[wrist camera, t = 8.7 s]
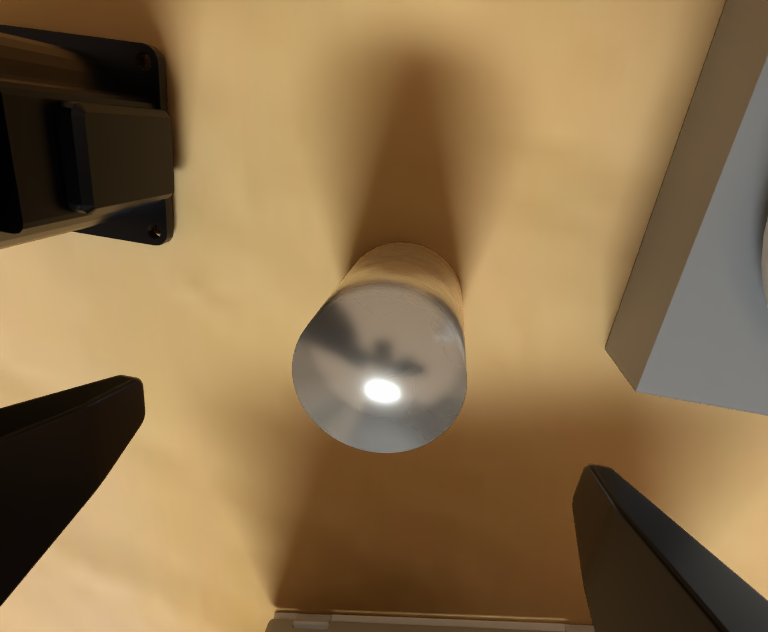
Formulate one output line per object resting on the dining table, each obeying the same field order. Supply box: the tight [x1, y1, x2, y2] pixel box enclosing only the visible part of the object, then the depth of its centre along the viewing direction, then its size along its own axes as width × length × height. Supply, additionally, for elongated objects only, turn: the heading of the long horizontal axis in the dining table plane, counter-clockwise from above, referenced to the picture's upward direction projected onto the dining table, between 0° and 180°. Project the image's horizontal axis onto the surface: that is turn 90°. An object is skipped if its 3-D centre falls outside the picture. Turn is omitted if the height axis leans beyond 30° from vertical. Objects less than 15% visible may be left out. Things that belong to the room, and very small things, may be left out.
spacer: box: [292, 242, 467, 453], centre depth 14 cm, size 4×4×6 cm
